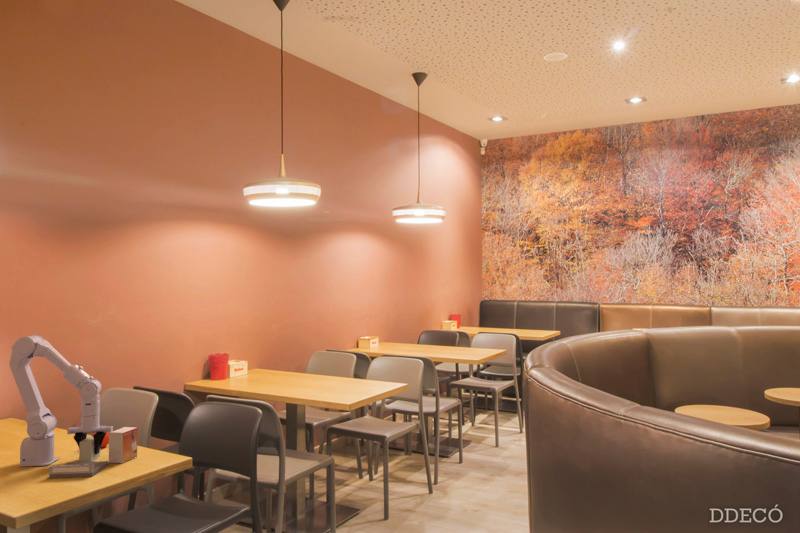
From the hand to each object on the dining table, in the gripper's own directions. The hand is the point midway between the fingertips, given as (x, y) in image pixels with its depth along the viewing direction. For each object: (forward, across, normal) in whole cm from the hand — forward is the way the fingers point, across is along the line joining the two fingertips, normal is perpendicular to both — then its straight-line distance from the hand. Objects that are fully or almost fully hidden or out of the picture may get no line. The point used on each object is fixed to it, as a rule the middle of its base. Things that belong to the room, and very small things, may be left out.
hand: (90, 453), depth 196 cm
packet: (+2, 0, 0) cm, 2 cm away
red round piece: (+2, +2, -16) cm, 16 cm away
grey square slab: (+2, -2, +13) cm, 13 cm away
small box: (+2, -12, +2) cm, 12 cm away
